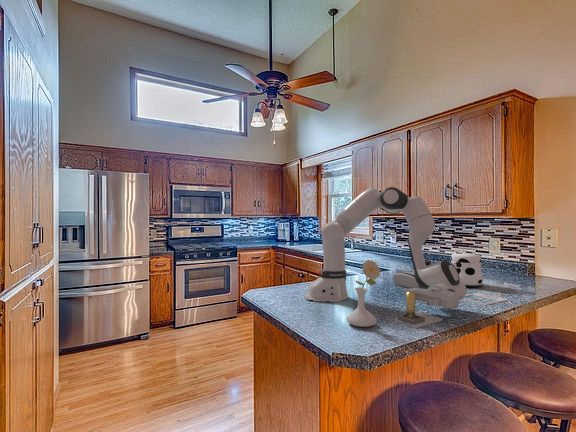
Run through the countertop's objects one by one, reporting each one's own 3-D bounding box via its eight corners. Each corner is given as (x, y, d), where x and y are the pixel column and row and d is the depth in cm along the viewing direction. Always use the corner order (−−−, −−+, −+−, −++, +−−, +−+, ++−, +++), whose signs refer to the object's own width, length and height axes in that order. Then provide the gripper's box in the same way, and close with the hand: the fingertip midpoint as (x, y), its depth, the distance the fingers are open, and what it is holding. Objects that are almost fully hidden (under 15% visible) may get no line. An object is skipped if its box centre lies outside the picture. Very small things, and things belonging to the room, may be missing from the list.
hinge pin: (406, 321, 120) (406, 293, 120) (406, 318, 123) (406, 291, 123) (415, 322, 119) (415, 293, 119) (414, 319, 122) (414, 291, 122)
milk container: (487, 285, 183) (487, 255, 183) (476, 290, 172) (476, 257, 172) (456, 280, 196) (456, 252, 196) (444, 285, 185) (444, 255, 185)
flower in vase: (350, 330, 113) (350, 262, 113) (343, 319, 125) (343, 258, 125) (385, 329, 114) (384, 261, 114) (375, 318, 125) (374, 257, 125)
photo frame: (507, 299, 151) (484, 304, 143) (507, 301, 151) (484, 306, 143) (477, 292, 164) (455, 296, 156) (477, 294, 164) (455, 298, 156)
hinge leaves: (416, 328, 115) (415, 322, 115) (394, 320, 123) (394, 314, 123) (442, 320, 123) (442, 314, 123) (420, 313, 132) (420, 308, 132)
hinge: (424, 288, 176) (420, 273, 174) (419, 292, 173) (415, 276, 171) (399, 283, 190) (395, 268, 188) (394, 287, 187) (391, 272, 186)
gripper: (416, 283, 139) (396, 287, 132) (462, 292, 122) (441, 297, 114) (416, 297, 139) (396, 302, 132) (462, 308, 122) (441, 314, 114)
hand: (417, 300), depth 123 cm, fingers open, 8 cm apart
